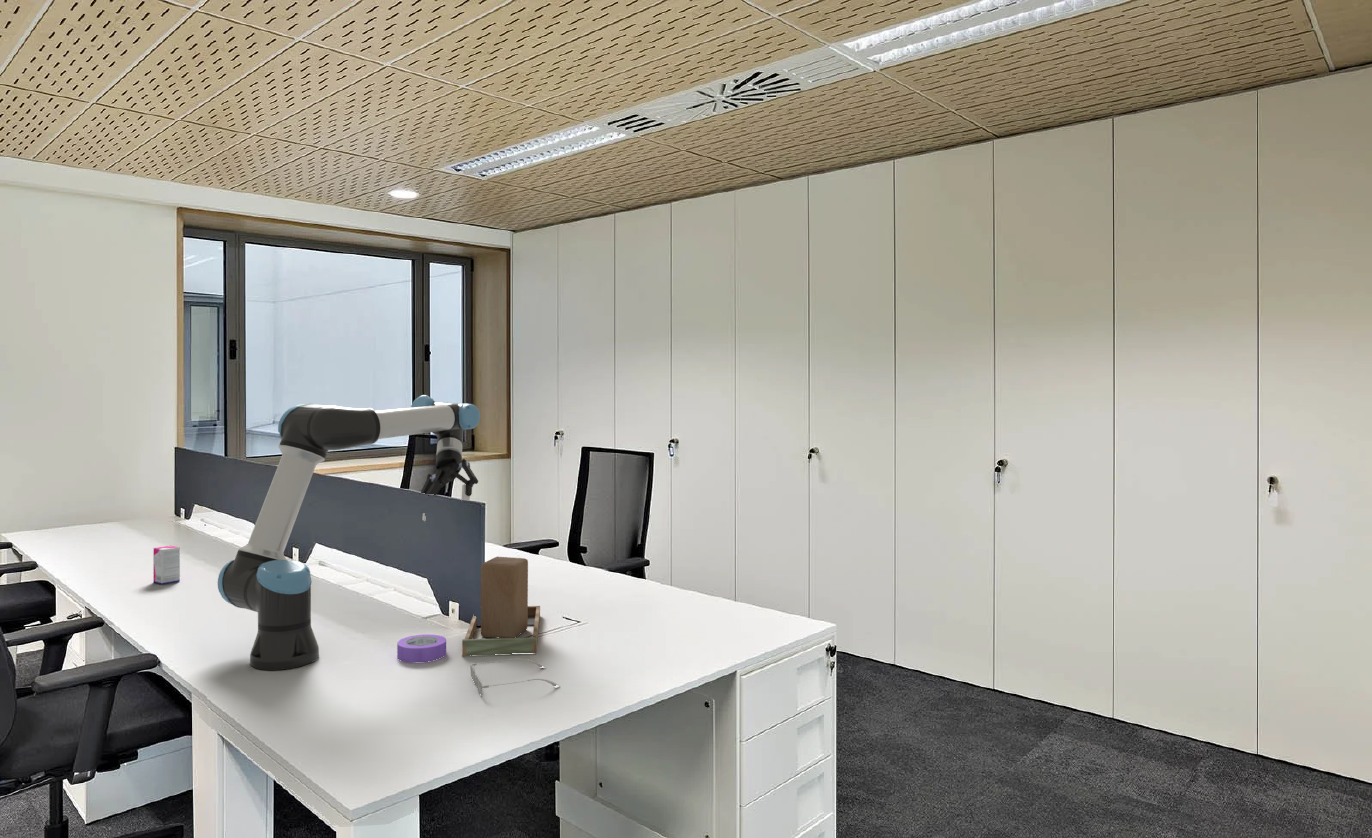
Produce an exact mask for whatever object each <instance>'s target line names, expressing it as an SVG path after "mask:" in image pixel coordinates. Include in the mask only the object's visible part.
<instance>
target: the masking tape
mask: <svg viewBox="0 0 1372 838" xmlns="http://www.w3.org/2000/svg"><path fill="white" fill-rule="evenodd" d="M396 646H397V647H396V651H397V652H396V653H397V655H396V658H397V660H398V659H399V660H398V661H400V660H401V661H400V662H403V663H407V662H425V663H429V662H428V661H431V662H434V661H433V660H436V659H439V658H441V657H443V656H444V657H446V656H447V638H446V637H444V636H443V635H437V634H430V633H429V634H417V635H409V636H405V637H404V638H400V639H399V640H398V641H397V645H396ZM444 657H443V658H444ZM441 659H442V658H441ZM439 660H440V659H439ZM436 661H437V660H436Z"/></svg>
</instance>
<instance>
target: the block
mask: <svg viewBox="0 0 1372 838" xmlns="http://www.w3.org/2000/svg"><path fill="white" fill-rule="evenodd" d="M528 560H529V559H527V558H523V557H510V556H509V557H507V556H496V557H493V558H491V559H489V560H487V561H485V562H483V563H482V564H481V566H480V607H481V627H480V636H481V637H483V638H490V637H499V638H515V637H516V638H518V637H519V636H520V635H521V634H520V633H522V632H523V633H524V632H526V631H527V630H528V627H529V626H528V604H529V597H528V596H529V595H528V593H529V588H528V587H529V561H528ZM526 629H527V630H526ZM523 633H522V634H523ZM519 634H520V635H519ZM518 635H519V636H518ZM517 636H518V637H517Z"/></svg>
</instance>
